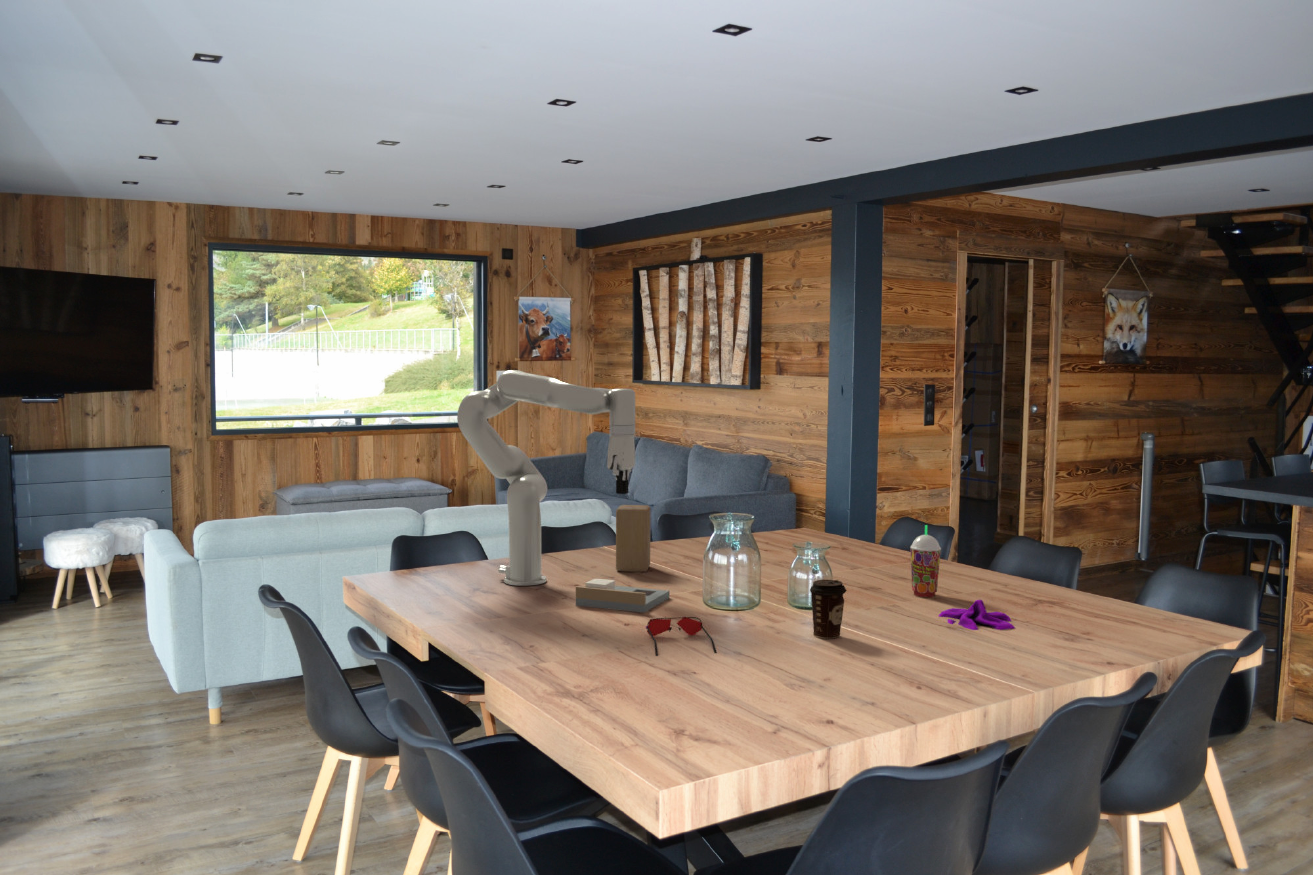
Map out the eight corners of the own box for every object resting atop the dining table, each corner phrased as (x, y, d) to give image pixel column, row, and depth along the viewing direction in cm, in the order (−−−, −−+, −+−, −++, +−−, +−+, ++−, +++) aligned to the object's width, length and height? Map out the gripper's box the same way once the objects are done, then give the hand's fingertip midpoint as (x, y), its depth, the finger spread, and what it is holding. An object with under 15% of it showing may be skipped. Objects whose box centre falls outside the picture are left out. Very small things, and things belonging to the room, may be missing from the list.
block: (650, 566, 317) (650, 504, 315) (647, 572, 307) (647, 509, 305) (619, 565, 318) (619, 504, 316) (615, 572, 308) (615, 508, 306)
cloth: (934, 611, 262) (935, 588, 261) (1008, 615, 258) (1008, 592, 258) (942, 633, 240) (942, 608, 240) (1022, 637, 236) (1022, 612, 236)
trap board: (575, 605, 264) (575, 586, 264) (604, 591, 281) (604, 574, 281) (644, 612, 257) (644, 593, 256) (669, 597, 273) (669, 580, 273)
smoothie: (907, 596, 276) (909, 526, 275) (911, 590, 284) (913, 522, 282) (938, 599, 273) (940, 528, 271) (941, 593, 281) (943, 524, 279)
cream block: (585, 597, 265) (585, 582, 264) (595, 592, 270) (595, 578, 270) (605, 599, 262) (605, 584, 262) (615, 594, 268) (615, 580, 268)
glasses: (702, 635, 237) (702, 614, 236) (717, 655, 221) (717, 633, 220) (644, 637, 235) (645, 616, 234) (655, 657, 218) (655, 635, 218)
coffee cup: (848, 633, 238) (849, 580, 237) (843, 641, 230) (844, 587, 229) (812, 629, 241) (813, 577, 240) (806, 638, 233) (807, 584, 232)
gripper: (621, 429, 295) (621, 490, 296) (599, 432, 281) (599, 495, 282) (644, 430, 292) (643, 491, 293) (623, 433, 278) (623, 497, 279)
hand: (622, 493), depth 288 cm, fingers closed
